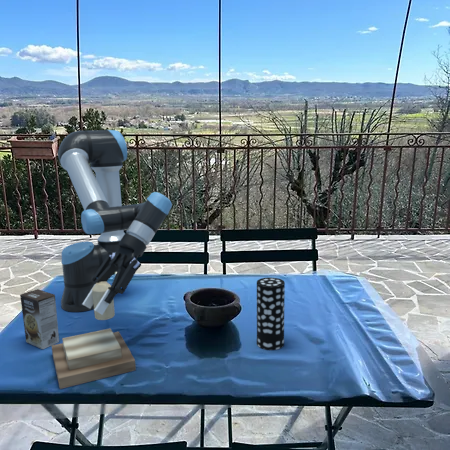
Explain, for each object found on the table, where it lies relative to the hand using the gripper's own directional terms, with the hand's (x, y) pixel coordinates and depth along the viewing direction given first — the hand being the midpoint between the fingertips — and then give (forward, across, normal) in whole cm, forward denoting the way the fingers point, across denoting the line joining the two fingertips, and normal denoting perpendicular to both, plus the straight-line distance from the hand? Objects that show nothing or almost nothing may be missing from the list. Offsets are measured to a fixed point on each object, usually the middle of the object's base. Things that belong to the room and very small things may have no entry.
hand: (92, 309), depth 125 cm
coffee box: (+15, +25, -9) cm, 31 cm away
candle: (0, 0, -5) cm, 5 cm away
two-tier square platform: (+12, +2, -12) cm, 17 cm away
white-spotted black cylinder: (-17, -30, -42) cm, 54 cm away
